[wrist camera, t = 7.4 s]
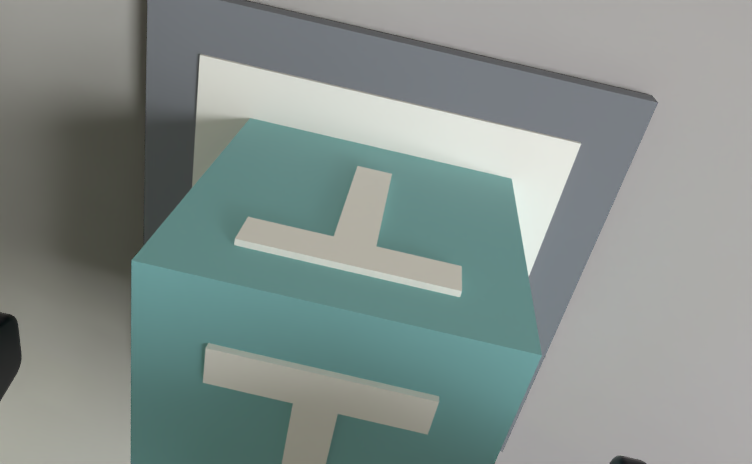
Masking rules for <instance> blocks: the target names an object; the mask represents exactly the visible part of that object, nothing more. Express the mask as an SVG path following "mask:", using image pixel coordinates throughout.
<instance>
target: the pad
mask: <svg viewBox="0 0 752 464" xmlns="http://www.w3.org/2000/svg"><path fill="white" fill-rule="evenodd" d="M657 104H658V102H657V101H656V100H655V98H654V97H653V96H652V95H648V94H644V93H639V92H635V91H631V90H626V89H622V88H618V87H614V86H609V85H605V84H601V83H596V82H592V81H588V80H584V79H579V78H575V77H571V76H566V75H562V74H558V73H554V72H549V71H545V70H541V69H537V68H532V67H528V66H524V65H519V64H515V63H511V62H507V61H502V60H498V59H494V58H489V57H485V56H481V55H477V54H472V53H468V52H464V51H459V50H455V49H451V48H447V47H442V46H438V45H434V44H430V43H425V42H421V41H417V40H412V39H408V38H404V37H400V36H395V35H391V34H387V33H382V32H378V31H374V30H370V29H365V28H361V27H357V26H352V25H348V24H344V23H340V22H335V21H331V20H327V19H323V18H318V17H314V16H310V15H305V14H301V13H297V12H293V11H288V10H284V9H280V8H275V7H271V6H267V5H263V4H258V3H254V2H250V1H245V0H147V62H146V125H145V187H144V245H145V244H146V242H147V241H148V240H149V239H150V238H151V236H152V235H153V234H154V233H155V232H156V230H157V229H158V228H159V227H160V226H161V224H162V223H163V222H164V221H165V220H166V218H167V217H168V216H169V215H170V214H171V212H172V211H173V210H174V209H175V208H176V206H177V205H178V204H179V203H180V202H181V200H182V199H183V198H184V197H185V196H186V194H187V193H188V192H189V191H190V190H191V188H192V187H193V186H194V185H195V184H196V182H197V181H198V180H199V179H200V178H201V176H202V175H203V174H204V173H205V172H206V170H207V169H208V168H209V167H210V166H211V164H212V163H213V162H214V161H215V160H216V158H217V157H218V156H219V155H220V154H221V152H222V151H223V150H224V149H225V148H226V146H227V145H228V144H229V143H230V142H231V140H232V139H233V138H234V137H235V136H236V134H237V133H238V132H239V131H240V130H241V128H242V127H243V126H244V125H245V124H246V122H247V121H248V120H249V119H250V118H253V119H257V120H261V121H266V122H270V123H274V124H278V125H283V126H287V127H291V128H296V129H300V130H304V131H309V132H313V133H317V134H322V135H326V136H330V137H334V138H339V139H343V140H347V141H352V142H356V143H360V144H365V145H369V146H373V147H377V148H382V149H386V150H390V151H395V152H399V153H403V154H408V155H412V156H416V157H421V158H425V159H429V160H433V161H438V162H442V163H446V164H451V165H455V166H459V167H464V168H468V169H472V170H477V171H481V172H485V173H489V174H494V175H498V176H502V177H507V178H511V179H512V183H513V189H514V195H515V201H516V207H517V213H518V218H519V224H520V230H521V236H522V242H523V247H524V253H525V259H526V265H527V271H528V277H529V282H530V288H531V294H532V300H533V306H534V312H535V317H536V323H537V329H538V335H539V341H540V346H541V352H542V357H541V359H540V361H539V363H538V366H537V368H536V370H535V373H534V375H533V377H532V379H531V382H530V384H529V386H528V388H527V391H526V393H525V395H524V397H523V400H522V402H521V404H520V407H519V409H518V411H517V413H516V416H515V418H514V420H513V422H512V425H511V427H510V429H509V431H508V434H507V436H506V438H505V441H504V443H503V445H502V447H501V450H500V451H503V449H504V447H505V445H506V443H507V440H508V438H509V436H510V434H511V431H512V429H513V427H514V425H515V422H516V420H517V418H518V416H519V413H520V411H521V409H522V407H523V404H524V402H525V400H526V398H527V395H528V393H529V391H530V389H531V386H532V384H533V382H534V380H535V377H536V375H537V373H538V371H539V368H540V366H541V364H542V362H543V359H544V357H545V355H546V353H547V351H548V348H549V346H550V344H551V342H552V339H553V337H554V335H555V333H556V330H557V328H558V326H559V324H560V321H561V319H562V317H563V315H564V312H565V310H566V308H567V306H568V303H569V301H570V299H571V297H572V294H573V292H574V290H575V288H576V285H577V283H578V281H579V279H580V276H581V274H582V272H583V270H584V268H585V265H586V263H587V261H588V259H589V256H590V254H591V252H592V250H593V247H594V245H595V243H596V241H597V238H598V236H599V234H600V232H601V229H602V227H603V225H604V223H605V220H606V218H607V216H608V214H609V211H610V209H611V207H612V205H613V202H614V200H615V198H616V196H617V193H618V191H619V189H620V187H621V185H622V182H623V180H624V178H625V176H626V173H627V171H628V169H629V167H630V164H631V162H632V160H633V158H634V155H635V153H636V151H637V149H638V146H639V144H640V142H641V140H642V137H643V135H644V133H645V131H646V128H647V126H648V124H649V122H650V119H651V117H652V115H653V113H654V110H655V108H656V106H657Z"/></svg>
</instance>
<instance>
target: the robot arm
mask: <svg viewBox="0 0 752 464" xmlns="http://www.w3.org/2000/svg"><path fill="white" fill-rule="evenodd" d="M20 364H21V346H20V338H19V329H18V322H17V320H16V318H15V317H14V316H12V315H10V314H6V313H2V312H0V401H1V399H2V398H3V396H4V394H5V392H6V391H7V389H8V387H9V386H10V384H11V382H12V381H13V379H14V377H15V376H16V374H17V372H18V370H19V367H20ZM610 464H646V463H645V462H644V461H641V460H638V459H633V458H629V457H625V456H616V457H614V458H613V459H612V461H611V462H610Z"/></svg>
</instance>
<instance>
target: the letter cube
mask: <svg viewBox="0 0 752 464" xmlns="http://www.w3.org/2000/svg"><path fill="white" fill-rule="evenodd" d="M541 357H542V352H541V346H540V341H539V335H538V329H537V323H536V317H535V312H534V306H533V300H532V294H531V288H530V282H529V277H528V271H527V265H526V259H525V253H524V247H523V242H522V236H521V230H520V224H519V218H518V213H517V207H516V201H515V195H514V189H513V183H512V179H511V178H507V177H502V176H498V175H494V174H489V173H485V172H481V171H477V170H472V169H468V168H464V167H459V166H455V165H451V164H446V163H442V162H438V161H433V160H429V159H425V158H421V157H416V156H412V155H408V154H403V153H399V152H395V151H390V150H386V149H382V148H377V147H373V146H369V145H365V144H360V143H356V142H352V141H347V140H343V139H339V138H334V137H330V136H326V135H322V134H317V133H313V132H309V131H304V130H300V129H296V128H291V127H287V126H283V125H278V124H274V123H270V122H266V121H261V120H257V119H253V118H250V119H249V120H248V121H247V122H246V124H245V125H244V126H243V127H242V128H241V130H240V131H239V132H238V133H237V134H236V136H235V137H234V138H233V139H232V140H231V142H230V143H229V144H228V145H227V146H226V148H225V149H224V150H223V151H222V152H221V154H220V155H219V156H218V157H217V158H216V160H215V161H214V162H213V163H212V164H211V166H210V167H209V168H208V169H207V170H206V172H205V173H204V174H203V175H202V176H201V178H200V179H199V180H198V181H197V182H196V184H195V185H194V186H193V187H192V188H191V190H190V191H189V192H188V193H187V194H186V196H185V197H184V198H183V199H182V200H181V202H180V203H179V204H178V205H177V206H176V208H175V209H174V210H173V211H172V212H171V214H170V215H169V216H168V217H167V218H166V220H165V221H164V222H163V223H162V224H161V226H160V227H159V228H158V229H157V230H156V232H155V233H154V234H153V235H152V236H151V238H150V239H149V240H148V241H147V242H146V244H145V245H144V246H143V247H142V248H141V250H140V251H139V252H138V253H137V254H136V256H135V257H134V258H133V259H132V260H131V464H494V463H495V461H496V459H497V456H498V454H499V452H500V450H501V447H502V445H503V443H504V441H505V438H506V436H507V434H508V431H509V429H510V427H511V425H512V422H513V420H514V418H515V416H516V413H517V411H518V409H519V407H520V404H521V402H522V400H523V397H524V395H525V393H526V391H527V388H528V386H529V384H530V382H531V379H532V377H533V375H534V373H535V370H536V368H537V366H538V363H539V361H540V359H541Z"/></svg>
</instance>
